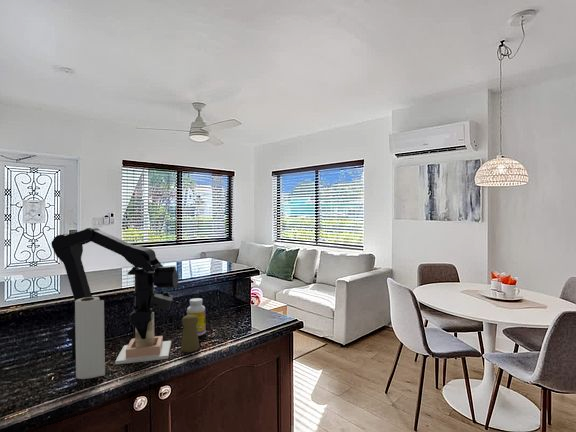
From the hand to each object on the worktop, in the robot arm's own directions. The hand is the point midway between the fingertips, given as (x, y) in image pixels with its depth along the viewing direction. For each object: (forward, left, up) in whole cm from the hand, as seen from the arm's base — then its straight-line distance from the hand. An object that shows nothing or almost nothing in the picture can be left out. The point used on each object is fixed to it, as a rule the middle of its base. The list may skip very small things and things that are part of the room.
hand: (144, 336), depth 110 cm
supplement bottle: (+16, +14, -6) cm, 22 cm away
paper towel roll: (-13, -12, -6) cm, 19 cm away
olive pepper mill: (+14, 0, -6) cm, 15 cm away
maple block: (0, 0, -3) cm, 3 cm away
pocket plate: (0, 0, -6) cm, 6 cm away
